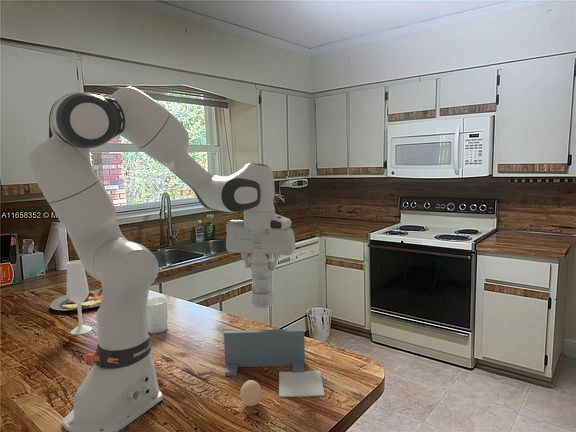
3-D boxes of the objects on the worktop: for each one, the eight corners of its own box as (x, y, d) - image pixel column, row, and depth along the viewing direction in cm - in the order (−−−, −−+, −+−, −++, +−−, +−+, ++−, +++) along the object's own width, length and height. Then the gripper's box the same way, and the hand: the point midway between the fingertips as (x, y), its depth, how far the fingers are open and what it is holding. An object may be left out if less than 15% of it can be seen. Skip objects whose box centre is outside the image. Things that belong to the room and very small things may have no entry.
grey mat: (324, 396, 98) (324, 394, 98) (279, 397, 98) (278, 395, 97) (320, 372, 109) (320, 370, 109) (279, 373, 108) (279, 371, 108)
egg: (245, 396, 98) (244, 374, 97) (265, 400, 97) (264, 377, 96) (237, 409, 93) (236, 385, 92) (257, 413, 92) (257, 388, 91)
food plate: (121, 290, 181) (120, 282, 180) (117, 308, 159) (116, 300, 158) (58, 298, 173) (57, 290, 173) (44, 319, 151) (43, 310, 151)
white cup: (173, 328, 139) (171, 300, 137) (152, 336, 133) (150, 307, 132) (161, 322, 144) (159, 295, 143) (140, 329, 138) (138, 301, 137)
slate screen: (305, 373, 108) (305, 338, 107) (223, 375, 108) (221, 340, 106) (304, 362, 114) (303, 328, 113) (226, 364, 114) (224, 330, 112)
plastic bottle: (260, 300, 124) (257, 237, 120) (278, 305, 120) (275, 239, 116) (246, 308, 119) (242, 242, 115) (264, 313, 115) (261, 245, 111)
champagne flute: (83, 335, 135) (76, 265, 131) (65, 333, 136) (58, 264, 133) (96, 326, 141) (90, 259, 138) (79, 325, 143) (73, 259, 139)
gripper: (221, 221, 115) (222, 268, 117) (290, 223, 109) (291, 273, 111) (230, 218, 121) (231, 263, 123) (296, 220, 115) (297, 267, 117)
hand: (260, 268), depth 117 cm, fingers closed on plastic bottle, 6 cm apart
